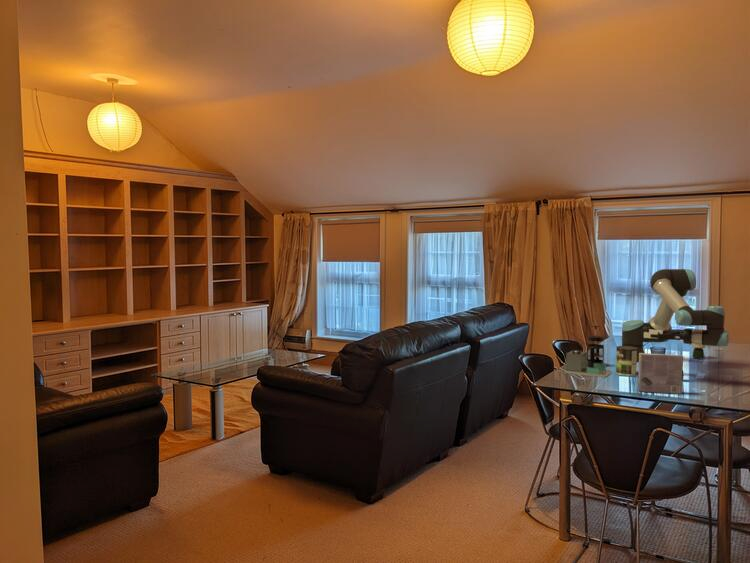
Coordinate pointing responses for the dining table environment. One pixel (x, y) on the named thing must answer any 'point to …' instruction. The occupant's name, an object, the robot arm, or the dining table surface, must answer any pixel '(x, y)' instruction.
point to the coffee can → (626, 360)
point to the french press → (595, 350)
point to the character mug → (698, 350)
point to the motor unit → (583, 365)
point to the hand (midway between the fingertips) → (646, 333)
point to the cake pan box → (660, 373)
